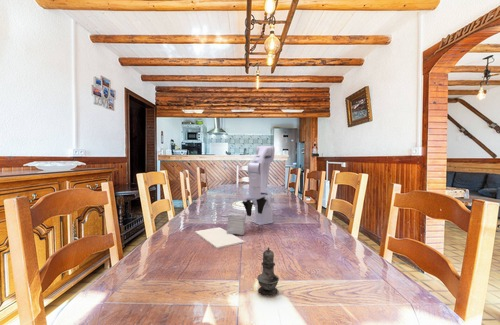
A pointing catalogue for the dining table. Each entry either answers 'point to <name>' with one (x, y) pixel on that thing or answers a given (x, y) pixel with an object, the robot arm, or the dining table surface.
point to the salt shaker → (268, 275)
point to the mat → (219, 237)
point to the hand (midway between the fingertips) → (254, 214)
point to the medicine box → (236, 224)
